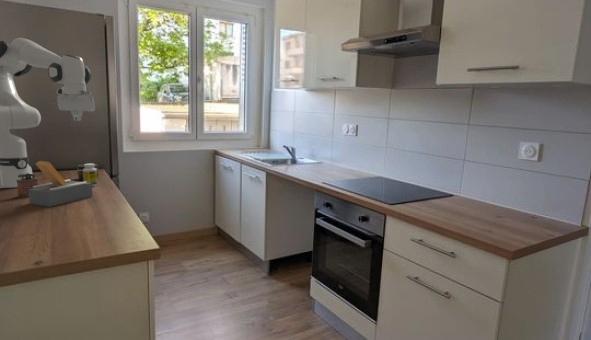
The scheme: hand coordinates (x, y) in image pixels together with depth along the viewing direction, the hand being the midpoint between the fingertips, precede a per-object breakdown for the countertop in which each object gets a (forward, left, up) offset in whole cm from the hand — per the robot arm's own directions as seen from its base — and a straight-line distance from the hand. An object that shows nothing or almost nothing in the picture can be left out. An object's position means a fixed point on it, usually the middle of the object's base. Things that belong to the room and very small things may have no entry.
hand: (77, 120), depth 181 cm
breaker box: (+10, -18, -33) cm, 39 cm away
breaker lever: (+10, -18, -27) cm, 34 cm away
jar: (-20, +20, -33) cm, 43 cm away
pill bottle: (-4, +8, -33) cm, 34 cm away
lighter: (-10, -19, -33) cm, 40 cm away
